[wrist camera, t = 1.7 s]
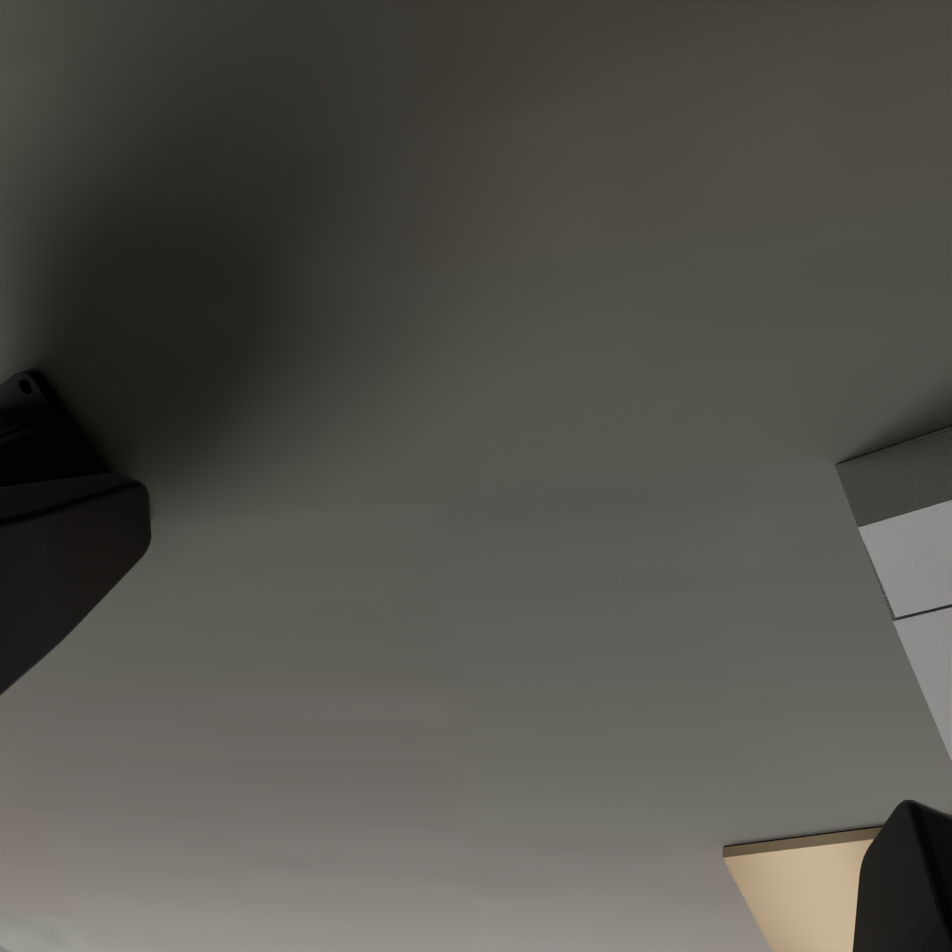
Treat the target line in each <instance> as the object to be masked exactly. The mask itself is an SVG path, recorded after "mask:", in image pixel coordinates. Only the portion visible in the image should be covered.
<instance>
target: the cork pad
mask: <svg viewBox="0 0 952 952" xmlns="http://www.w3.org/2000/svg"><path fill="white" fill-rule="evenodd" d="M881 828H882V827H878V828H870V829H863V830H855V831H847V832H839V833H831V834H824V835H816V836H808V837H800V838H793V839H785V840H777V841H769V842H762V843H754V844H746V845H738V846H730V847H723V859H724V861H725V863H726V865H727V867H728V869H729V870H730V872H731V874H732V876H733V878H734V880H735V882H736V884H737V886H738V887H739V889H740V891H741V893H742V895H743V897H744V899H745V901H746V903H747V904H748V906H749V908H750V910H751V912H752V914H753V916H754V918H755V920H756V921H757V923H758V925H759V927H760V929H761V931H762V933H763V935H764V937H765V938H766V940H767V942H768V944H769V946H770V948H771V950H772V952H853V941H854V930H855V918H856V907H857V896H858V885H859V874H860V868H861V864H862V860H863V857H864V855H865V853H866V851H867V849H868V847H869V846H870V844H871V843H872V841H873V840H874V839H875V837H876V836H877V834H878V833H879V831H880V830H881Z"/></svg>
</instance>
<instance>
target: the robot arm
mask: <svg viewBox="0 0 952 952" xmlns="http://www.w3.org/2000/svg"><path fill="white" fill-rule="evenodd" d="M150 541H151V520H150V504H149V493H148V490H147V488H146V486H145V485H144V484H143V483H141V482H140V481H137V480H135V479H132V478H130V477H127V476H125V475H123V474H119V473H108V472H107V470H106V469H105V467H104V466H103V464H102V463H101V461H100V460H99V458H98V457H97V456H96V454H95V453H94V451H93V450H92V448H91V447H90V445H89V444H88V442H87V441H86V439H85V438H84V436H83V435H82V433H81V432H80V430H79V429H78V427H77V426H76V424H75V423H74V421H73V420H72V418H71V417H70V415H69V414H68V412H67V411H66V410H65V408H64V407H63V405H62V404H61V402H60V401H59V399H58V398H57V396H56V395H55V393H54V392H53V390H52V389H51V387H50V386H49V384H48V383H47V381H46V380H45V378H44V377H43V376H42V375H41V374H40V373H39V372H38V371H36V370H33V369H29V370H26V371H23V372H19V373H16V374H15V375H14V376H12V377H11V378H9V379H8V380H7V381H5V382H4V383H2V384H1V385H0V695H2V694H3V693H4V692H5V691H6V690H7V689H8V688H9V687H11V686H12V685H13V684H14V683H15V682H16V681H17V680H19V679H20V678H21V677H22V676H23V675H24V674H25V673H27V672H28V671H29V670H30V669H31V668H32V667H33V666H35V665H36V664H37V663H38V662H39V661H40V660H41V659H43V658H44V657H45V656H46V655H47V654H48V653H49V652H50V651H51V650H53V649H54V648H55V647H56V646H57V645H58V644H59V643H60V642H61V641H62V640H63V639H64V638H65V637H66V636H67V635H68V634H69V633H70V632H71V631H72V630H73V629H74V628H75V627H76V626H77V625H78V624H79V623H80V622H81V621H82V620H83V619H84V618H85V617H86V616H87V615H88V613H89V612H90V611H91V610H92V609H93V608H94V607H95V606H96V605H97V604H98V603H99V602H100V601H101V600H102V599H103V598H104V597H105V596H106V595H107V593H108V592H109V591H110V590H111V589H112V588H113V587H114V586H115V585H116V584H117V583H118V582H119V581H120V580H121V579H122V578H123V577H124V576H125V575H126V574H127V572H128V571H129V570H130V569H131V568H132V567H133V566H134V565H135V564H136V563H137V562H138V561H139V560H140V559H141V558H142V557H143V555H144V554H145V553H146V551H147V549H148V547H149V545H150ZM853 952H952V816H950V815H948V814H946V813H944V812H941V811H939V810H937V809H934V808H932V807H929V806H927V805H924V804H922V803H920V802H917V801H914V800H904V801H903V802H901V803H900V804H899V805H898V806H897V807H896V808H895V810H894V811H893V813H892V814H891V815H890V817H889V818H888V820H887V821H886V823H885V824H884V826H883V827H882V828H881V830H880V831H879V833H878V834H877V836H876V837H875V839H874V840H873V841H872V843H871V844H870V846H869V847H868V849H867V851H866V853H865V855H864V857H863V860H862V864H861V868H860V874H859V885H858V896H857V907H856V918H855V930H854V941H853Z"/></svg>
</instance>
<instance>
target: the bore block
mask: <svg viewBox="0 0 952 952" xmlns="http://www.w3.org/2000/svg"><path fill="white" fill-rule="evenodd" d="M835 467H836V469H837V472H838V475H839V477H840V480H841V483H842V486H843V488H844V491H845V494H846V496H847V499H848V502H849V504H850V507H851V510H852V513H853V515H854V518H855V521H856V523H857V526H858V529H859V531H860V534H861V536H862V538H863V541H864V543H865V547H866V550H867V552H868V555H869V558H870V560H871V563H872V566H873V568H874V571H875V574H876V577H877V579H878V582H879V585H880V587H881V590H882V593H883V595H884V598H885V601H886V604H887V606H888V609H889V612H890V614H891V617H892V620H893V622H894V625H895V627H896V630H897V632H898V634H899V637H900V639H901V641H902V644H903V646H904V649H905V651H906V653H907V656H908V658H909V660H910V663H911V665H912V668H913V670H914V672H915V675H916V677H917V680H918V682H919V684H920V687H921V689H922V691H923V694H924V696H925V699H926V701H927V703H928V706H929V708H930V711H931V713H932V715H933V718H934V720H935V722H936V725H937V727H938V730H939V732H940V734H941V737H942V739H943V742H944V744H945V746H946V749H947V751H948V753H949V756H950V758H951V761H952V426H951V427H948V428H945V429H942V430H939V431H936V432H933V433H930V434H927V435H924V436H921V437H918V438H915V439H912V440H909V441H906V442H903V443H900V444H897V445H894V446H891V447H888V448H885V449H882V450H879V451H876V452H873V453H870V454H867V455H864V456H861V457H858V458H855V459H852V460H849V461H846V462H843V463H840V464H837V465H835Z"/></svg>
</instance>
